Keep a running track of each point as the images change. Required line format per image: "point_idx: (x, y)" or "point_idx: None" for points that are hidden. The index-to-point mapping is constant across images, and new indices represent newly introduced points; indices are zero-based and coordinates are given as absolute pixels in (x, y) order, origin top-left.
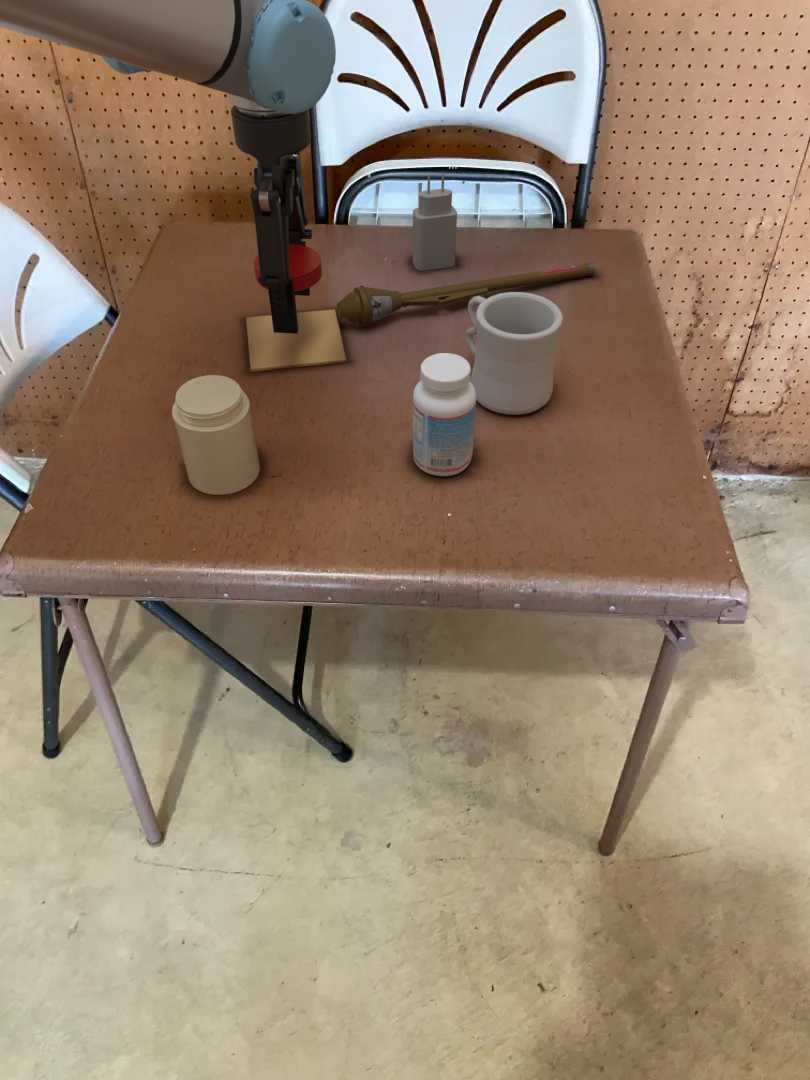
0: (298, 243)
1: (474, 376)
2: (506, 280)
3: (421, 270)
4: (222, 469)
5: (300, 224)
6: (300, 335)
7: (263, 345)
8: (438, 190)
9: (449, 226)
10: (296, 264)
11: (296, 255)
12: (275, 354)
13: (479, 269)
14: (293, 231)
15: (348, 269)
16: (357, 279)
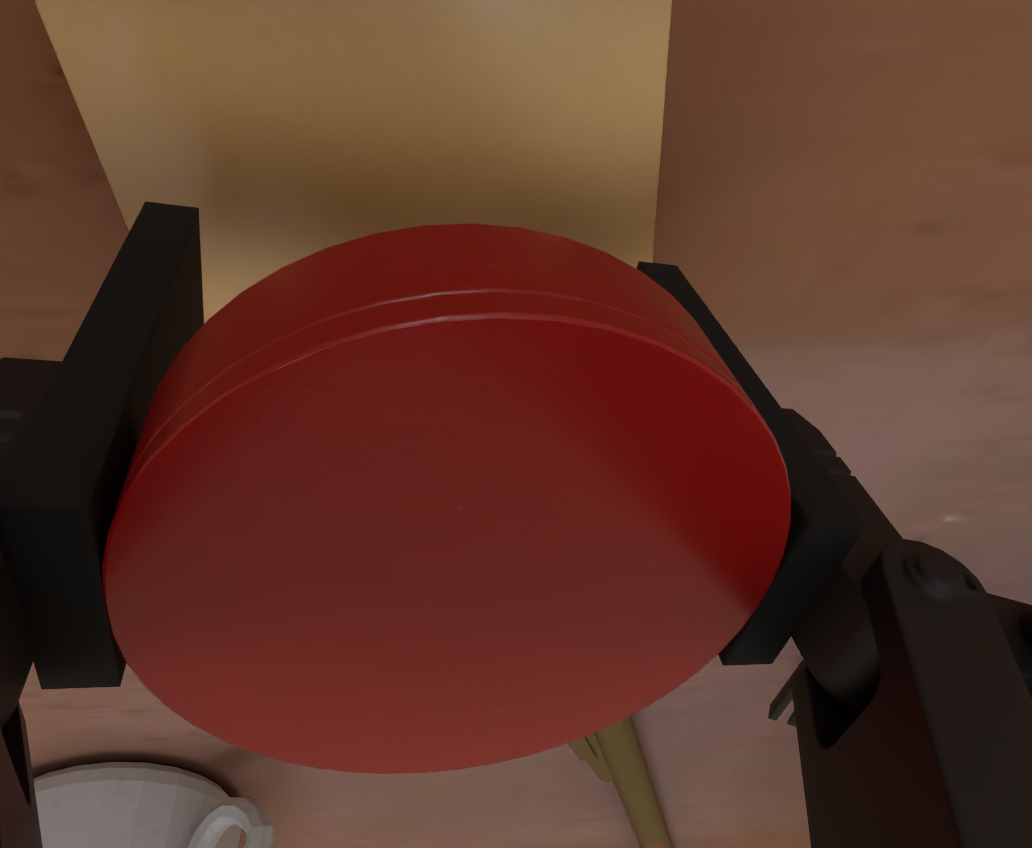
0: (756, 632)
1: (44, 843)
2: (631, 811)
3: None
4: None
5: (814, 844)
6: None
7: (323, 29)
8: None
9: None
10: (387, 669)
11: (555, 645)
12: (222, 116)
13: (768, 716)
14: (866, 677)
15: (951, 410)
16: (861, 444)
